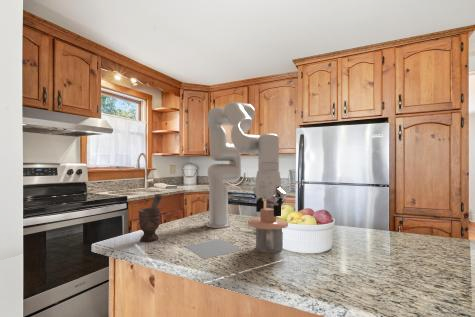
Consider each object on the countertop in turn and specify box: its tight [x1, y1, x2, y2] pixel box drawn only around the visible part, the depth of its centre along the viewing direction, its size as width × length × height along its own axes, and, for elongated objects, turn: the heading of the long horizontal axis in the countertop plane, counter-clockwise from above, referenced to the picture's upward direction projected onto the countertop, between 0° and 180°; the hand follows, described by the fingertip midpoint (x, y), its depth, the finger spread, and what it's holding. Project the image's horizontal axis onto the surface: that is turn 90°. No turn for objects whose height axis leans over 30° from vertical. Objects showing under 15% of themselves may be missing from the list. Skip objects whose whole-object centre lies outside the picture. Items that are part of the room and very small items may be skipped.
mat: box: [184, 238, 243, 260], centre depth 98 cm, size 16×16×1 cm
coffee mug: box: [255, 228, 284, 254], centre depth 96 cm, size 13×10×10 cm
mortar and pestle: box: [138, 193, 163, 244], centre depth 107 cm, size 12×9×20 cm
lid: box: [247, 207, 289, 229], centre depth 97 cm, size 15×15×6 cm
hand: (268, 213), depth 96 cm, fingers open, 9 cm apart
